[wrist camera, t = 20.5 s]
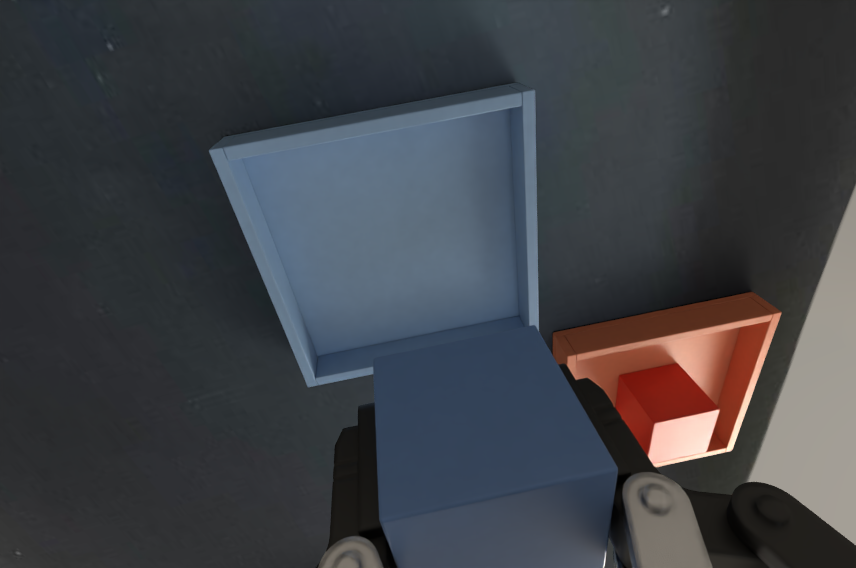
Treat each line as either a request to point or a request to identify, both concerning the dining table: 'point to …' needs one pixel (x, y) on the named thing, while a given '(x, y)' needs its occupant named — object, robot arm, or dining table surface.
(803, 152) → the dining table surface
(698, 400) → the red block
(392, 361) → the blue block
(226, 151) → the blue tray
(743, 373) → the orange tray
